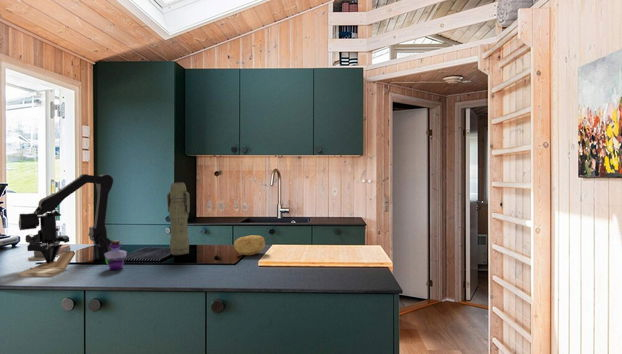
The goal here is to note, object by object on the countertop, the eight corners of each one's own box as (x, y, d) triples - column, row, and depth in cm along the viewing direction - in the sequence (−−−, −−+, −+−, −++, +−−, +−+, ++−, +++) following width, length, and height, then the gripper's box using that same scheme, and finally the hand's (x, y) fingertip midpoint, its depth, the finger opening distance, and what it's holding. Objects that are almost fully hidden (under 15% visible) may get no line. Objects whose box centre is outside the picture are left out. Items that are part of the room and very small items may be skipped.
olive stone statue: (173, 250, 209) (171, 182, 208) (194, 251, 207) (193, 182, 205) (163, 254, 200) (162, 183, 199) (186, 255, 198) (184, 182, 197)
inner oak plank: (75, 253, 179) (74, 251, 178) (64, 270, 172) (63, 267, 171) (64, 253, 179) (63, 251, 178) (53, 270, 172) (51, 267, 171)
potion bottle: (99, 270, 172) (99, 241, 172) (116, 265, 180) (115, 238, 180) (115, 272, 169) (114, 243, 168) (131, 267, 177) (131, 239, 176)
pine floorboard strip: (64, 271, 171) (63, 267, 171) (52, 276, 164) (52, 271, 164) (31, 271, 171) (31, 267, 171) (18, 276, 164) (18, 271, 164)
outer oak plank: (58, 264, 181) (58, 261, 180) (43, 271, 171) (43, 268, 171) (47, 264, 181) (47, 261, 181) (32, 271, 172) (32, 268, 172)
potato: (263, 257, 193) (263, 236, 193) (233, 257, 193) (232, 237, 193) (266, 252, 203) (266, 233, 203) (237, 252, 204) (237, 233, 203)
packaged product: (56, 243, 210) (74, 243, 209) (57, 252, 211) (74, 253, 209) (27, 250, 193) (46, 251, 191) (27, 260, 193) (46, 261, 191)
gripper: (45, 223, 188) (47, 257, 189) (13, 231, 169) (16, 268, 170) (69, 223, 187) (70, 257, 188) (39, 231, 168) (41, 268, 169)
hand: (50, 262), depth 179 cm, fingers closed, pressing on outer oak plank
